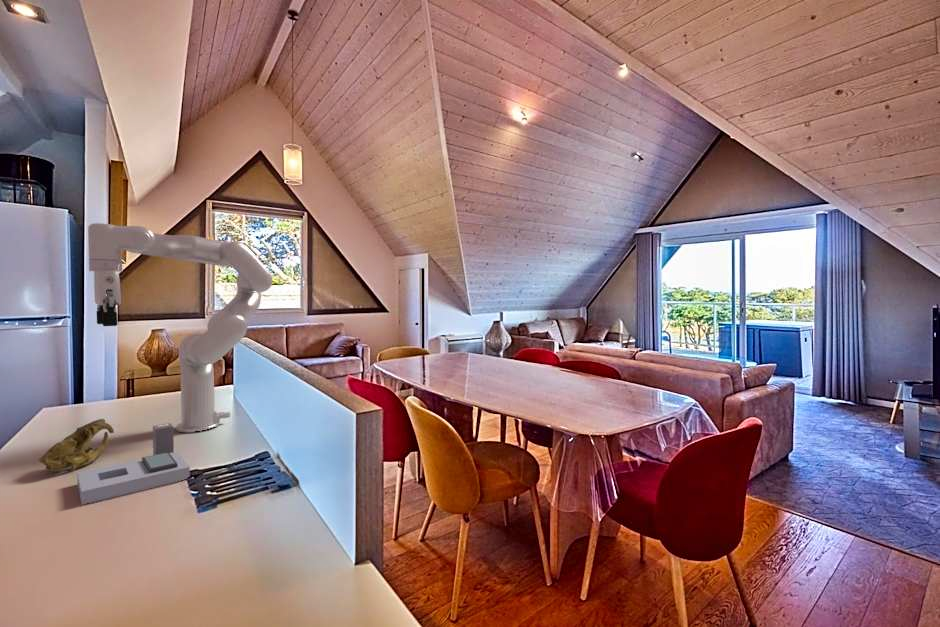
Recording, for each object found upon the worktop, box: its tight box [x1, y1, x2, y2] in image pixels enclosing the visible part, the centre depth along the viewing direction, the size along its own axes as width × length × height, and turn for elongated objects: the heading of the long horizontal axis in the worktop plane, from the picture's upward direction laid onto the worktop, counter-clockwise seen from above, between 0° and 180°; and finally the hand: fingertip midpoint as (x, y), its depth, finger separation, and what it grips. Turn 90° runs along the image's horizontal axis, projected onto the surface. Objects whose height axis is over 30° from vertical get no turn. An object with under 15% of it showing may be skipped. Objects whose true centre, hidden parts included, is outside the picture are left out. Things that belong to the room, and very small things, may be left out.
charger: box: [152, 422, 175, 455], centre depth 121 cm, size 4×4×9 cm
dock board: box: [76, 451, 191, 506], centre depth 107 cm, size 20×14×4 cm
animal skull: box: [38, 418, 115, 472], centre depth 116 cm, size 9×16×10 cm, turn 163°
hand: (106, 324), depth 130 cm, fingers open, 9 cm apart
